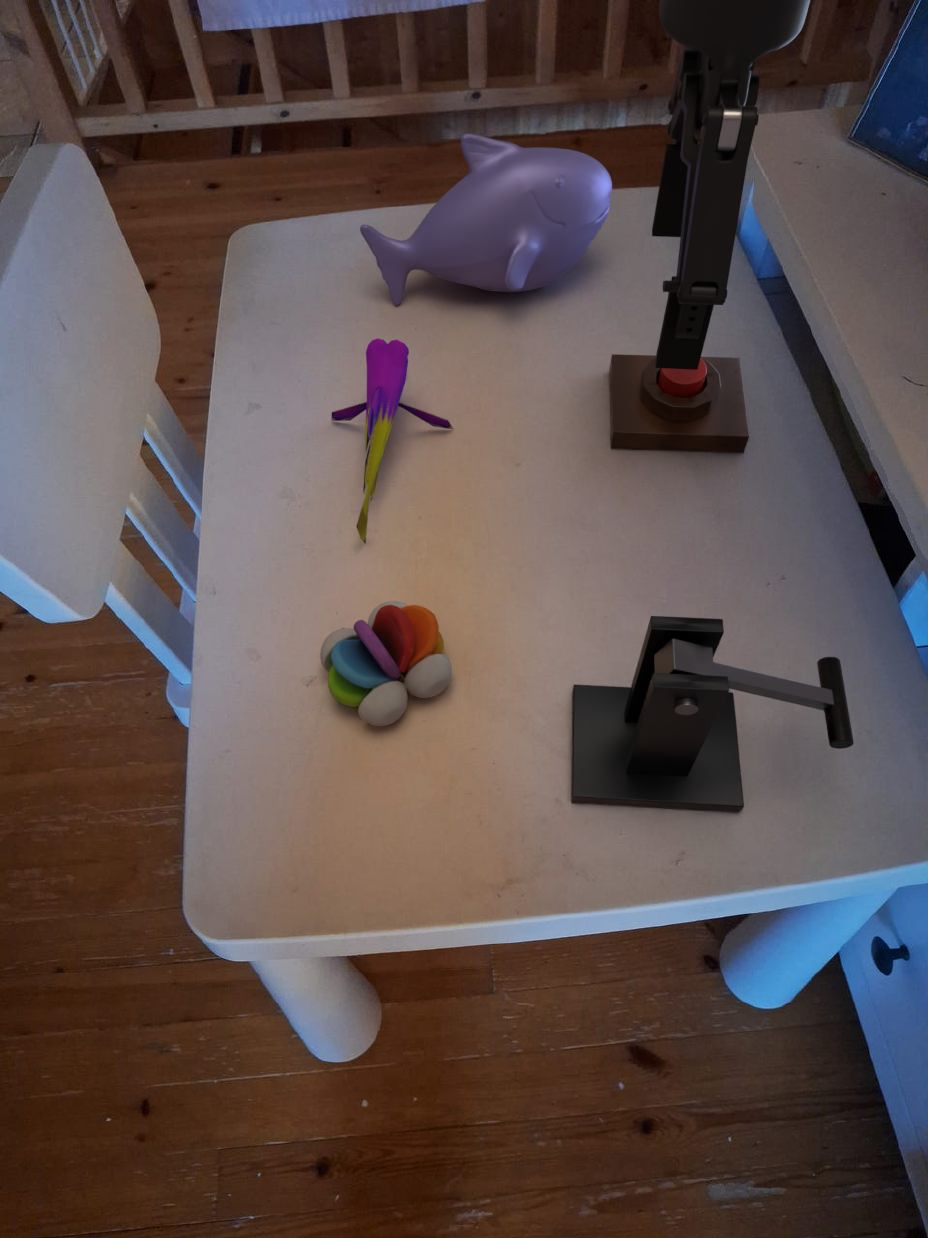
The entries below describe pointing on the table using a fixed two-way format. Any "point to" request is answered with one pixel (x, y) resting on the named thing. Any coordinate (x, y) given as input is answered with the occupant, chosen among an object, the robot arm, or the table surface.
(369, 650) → the fanned rainbow disc cluster
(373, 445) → the toy
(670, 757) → the bracket
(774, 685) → the t-handle lever
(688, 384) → the button
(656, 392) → the button block
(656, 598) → the table surface
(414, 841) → the table surface
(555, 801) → the table surface
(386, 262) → the toy whale
